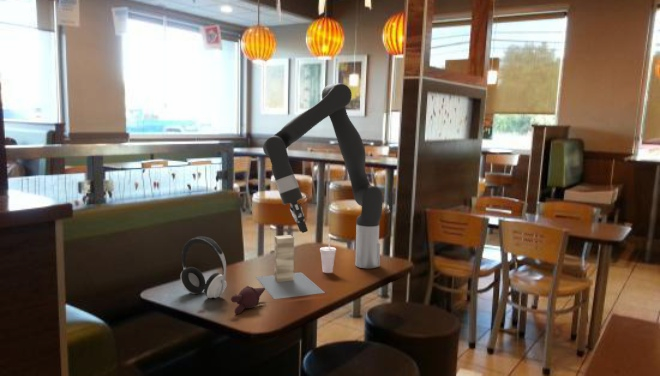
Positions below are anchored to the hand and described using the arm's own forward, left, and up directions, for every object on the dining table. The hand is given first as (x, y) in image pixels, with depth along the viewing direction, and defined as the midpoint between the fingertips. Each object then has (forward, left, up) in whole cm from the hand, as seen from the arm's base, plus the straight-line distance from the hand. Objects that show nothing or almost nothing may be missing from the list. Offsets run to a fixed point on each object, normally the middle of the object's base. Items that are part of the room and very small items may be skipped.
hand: (303, 231), depth 179 cm
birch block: (+7, -1, -18) cm, 19 cm away
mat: (+6, +5, -19) cm, 20 cm away
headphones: (+35, +10, -19) cm, 41 cm away
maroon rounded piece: (+21, +23, -19) cm, 36 cm away
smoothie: (-11, -8, -19) cm, 23 cm away
